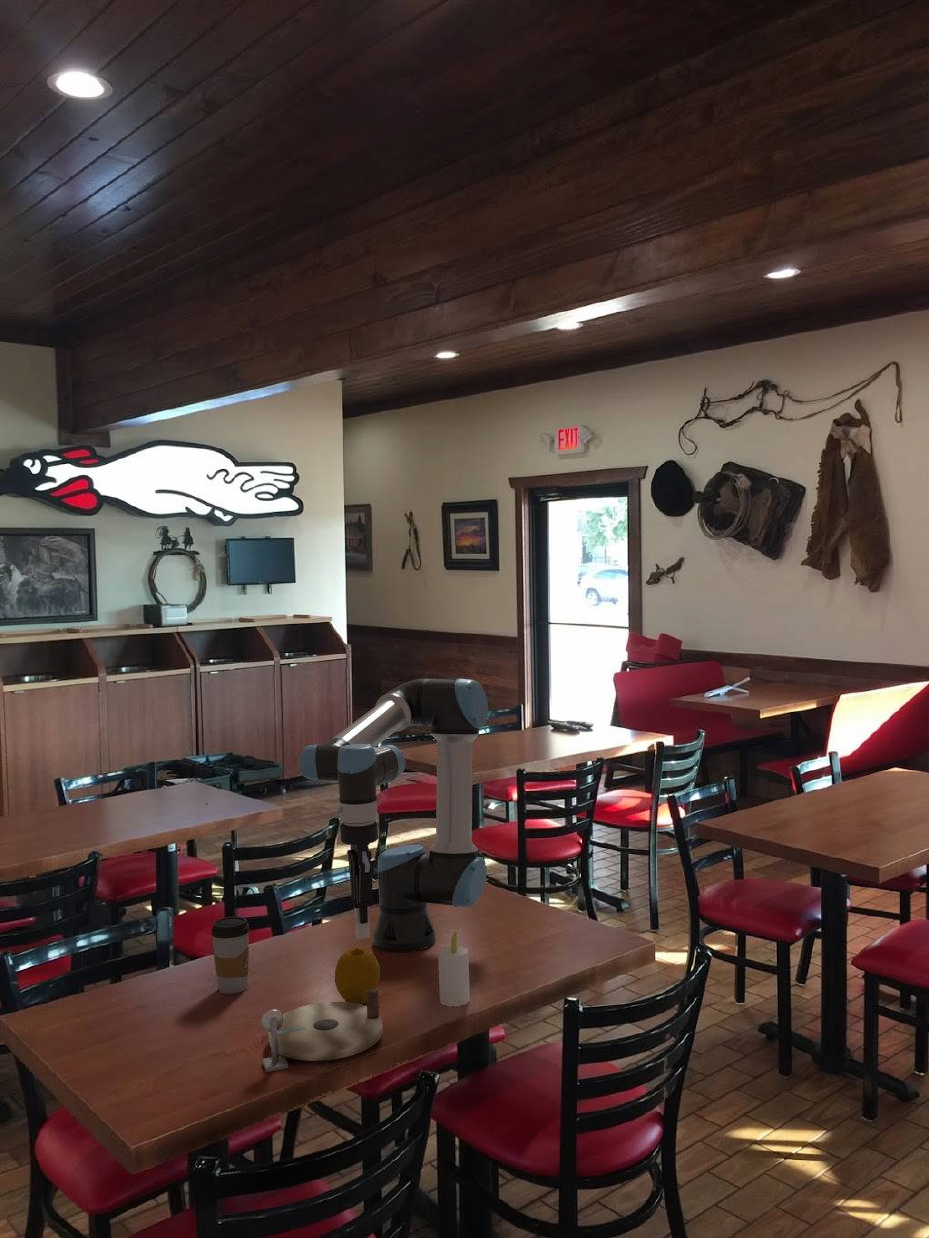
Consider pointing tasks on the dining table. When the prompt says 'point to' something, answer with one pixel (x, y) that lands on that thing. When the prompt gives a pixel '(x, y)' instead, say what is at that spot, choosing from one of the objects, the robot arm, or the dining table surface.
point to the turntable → (330, 1029)
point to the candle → (454, 974)
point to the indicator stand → (273, 1040)
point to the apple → (356, 974)
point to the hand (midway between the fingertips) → (362, 937)
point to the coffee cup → (231, 953)
